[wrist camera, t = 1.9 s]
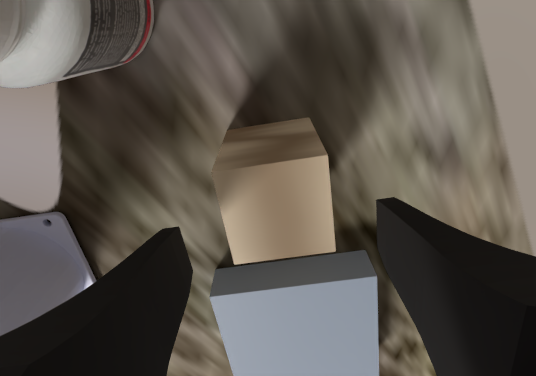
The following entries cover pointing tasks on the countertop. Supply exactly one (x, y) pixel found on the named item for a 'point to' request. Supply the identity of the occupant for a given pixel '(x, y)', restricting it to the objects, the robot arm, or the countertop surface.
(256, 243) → the maple cube
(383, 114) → the countertop surface
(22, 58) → the pill bottle
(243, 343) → the slate-blue block
